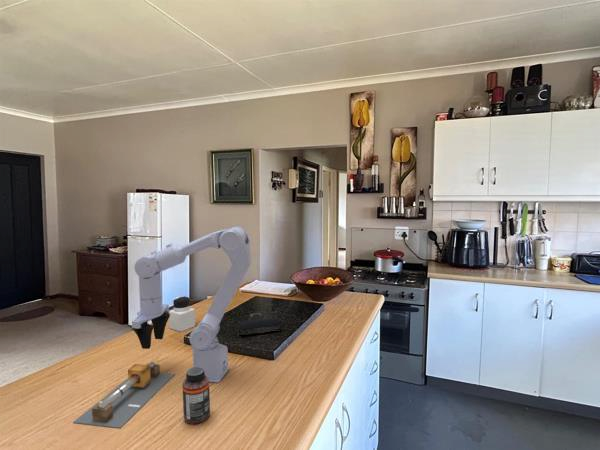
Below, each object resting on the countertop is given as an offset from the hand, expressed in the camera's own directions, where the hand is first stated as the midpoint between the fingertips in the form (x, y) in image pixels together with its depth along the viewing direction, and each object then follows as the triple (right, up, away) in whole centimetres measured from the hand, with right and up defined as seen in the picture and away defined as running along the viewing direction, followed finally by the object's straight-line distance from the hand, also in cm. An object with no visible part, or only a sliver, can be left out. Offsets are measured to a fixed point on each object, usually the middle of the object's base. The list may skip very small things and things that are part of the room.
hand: (152, 343), depth 96 cm
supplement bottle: (+18, -11, -18) cm, 28 cm away
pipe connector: (+26, -7, +34) cm, 43 cm away
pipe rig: (-2, -10, -10) cm, 14 cm away
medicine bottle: (-4, -7, +36) cm, 37 cm away
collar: (-1, -9, -6) cm, 11 cm away
